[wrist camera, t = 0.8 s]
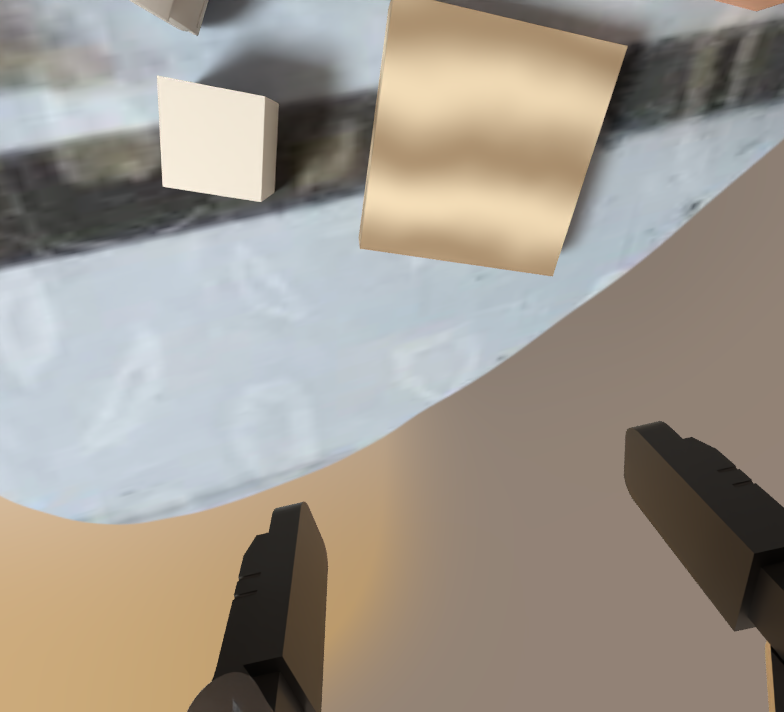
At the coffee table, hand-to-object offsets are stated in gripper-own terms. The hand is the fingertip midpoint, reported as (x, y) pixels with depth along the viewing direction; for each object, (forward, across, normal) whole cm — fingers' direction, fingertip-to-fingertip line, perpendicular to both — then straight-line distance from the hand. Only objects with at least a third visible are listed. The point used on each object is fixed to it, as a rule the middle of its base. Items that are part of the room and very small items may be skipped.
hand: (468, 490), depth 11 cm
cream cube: (+26, +8, -9) cm, 28 cm away
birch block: (+26, -7, -5) cm, 27 cm away
